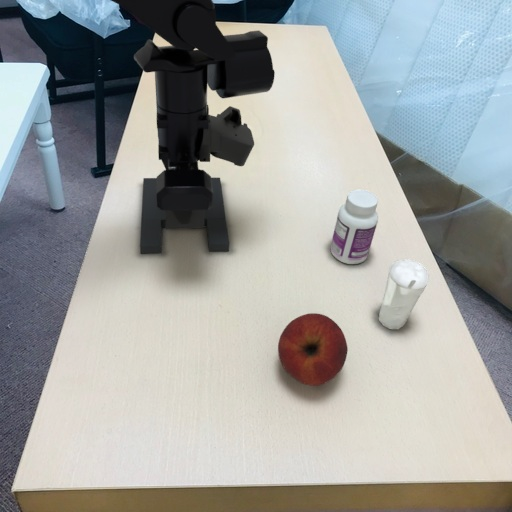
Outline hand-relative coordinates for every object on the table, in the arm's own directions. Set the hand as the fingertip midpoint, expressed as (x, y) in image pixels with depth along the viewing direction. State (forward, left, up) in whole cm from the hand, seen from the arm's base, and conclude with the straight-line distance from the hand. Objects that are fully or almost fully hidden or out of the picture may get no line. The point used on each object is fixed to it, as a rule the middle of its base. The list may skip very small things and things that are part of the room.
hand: (183, 211), depth 68 cm
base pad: (0, +5, -5) cm, 7 cm away
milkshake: (+25, -17, -5) cm, 31 cm away
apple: (+13, -23, -5) cm, 27 cm away
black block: (0, 0, -1) cm, 1 cm away
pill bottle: (+23, -4, -5) cm, 24 cm away
